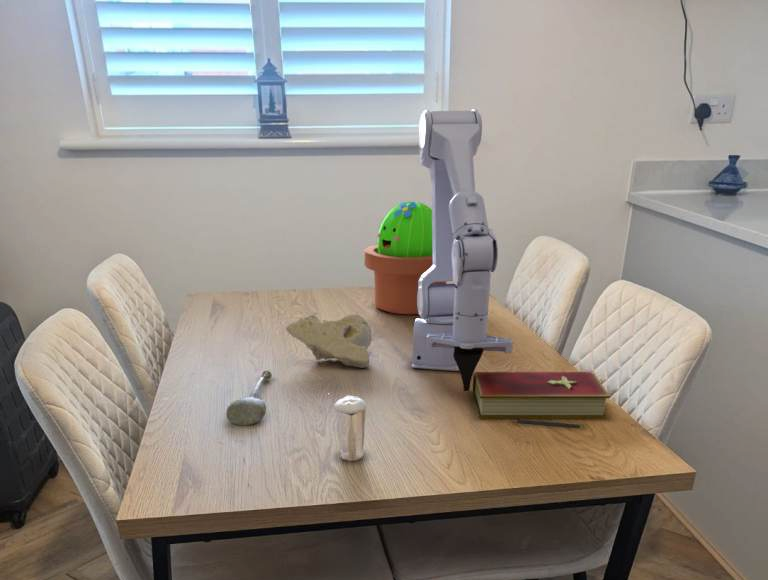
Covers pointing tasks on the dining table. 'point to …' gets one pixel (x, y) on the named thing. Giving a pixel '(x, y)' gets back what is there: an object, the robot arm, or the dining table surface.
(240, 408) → the soupspoon
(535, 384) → the hardcover book
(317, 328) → the beige rock fragment
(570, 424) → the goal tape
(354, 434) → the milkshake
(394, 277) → the potted cactus
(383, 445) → the dining table surface
